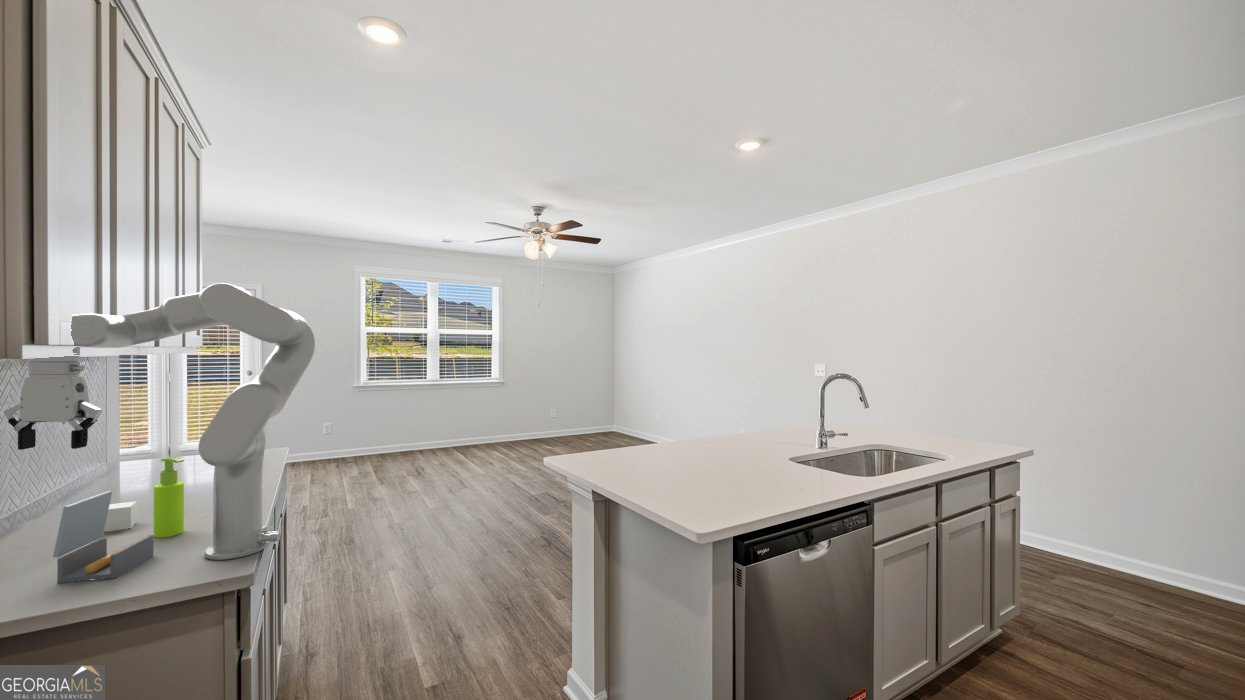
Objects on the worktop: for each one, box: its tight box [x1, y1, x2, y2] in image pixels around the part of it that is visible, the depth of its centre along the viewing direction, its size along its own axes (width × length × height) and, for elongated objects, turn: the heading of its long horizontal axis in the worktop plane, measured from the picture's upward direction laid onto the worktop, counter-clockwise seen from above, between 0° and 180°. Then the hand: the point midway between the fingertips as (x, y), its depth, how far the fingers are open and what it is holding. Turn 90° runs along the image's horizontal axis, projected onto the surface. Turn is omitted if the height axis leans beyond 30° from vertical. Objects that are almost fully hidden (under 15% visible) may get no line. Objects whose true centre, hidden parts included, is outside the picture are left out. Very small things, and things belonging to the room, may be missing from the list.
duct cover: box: [52, 490, 113, 559], centre depth 112 cm, size 11×12×1 cm
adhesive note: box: [104, 500, 138, 533], centre depth 139 cm, size 6×6×6 cm
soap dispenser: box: [153, 457, 185, 539], centre depth 134 cm, size 6×7×20 cm
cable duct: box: [56, 534, 154, 584], centre depth 113 cm, size 10×12×5 cm
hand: (53, 448), depth 112 cm, fingers open, 9 cm apart
